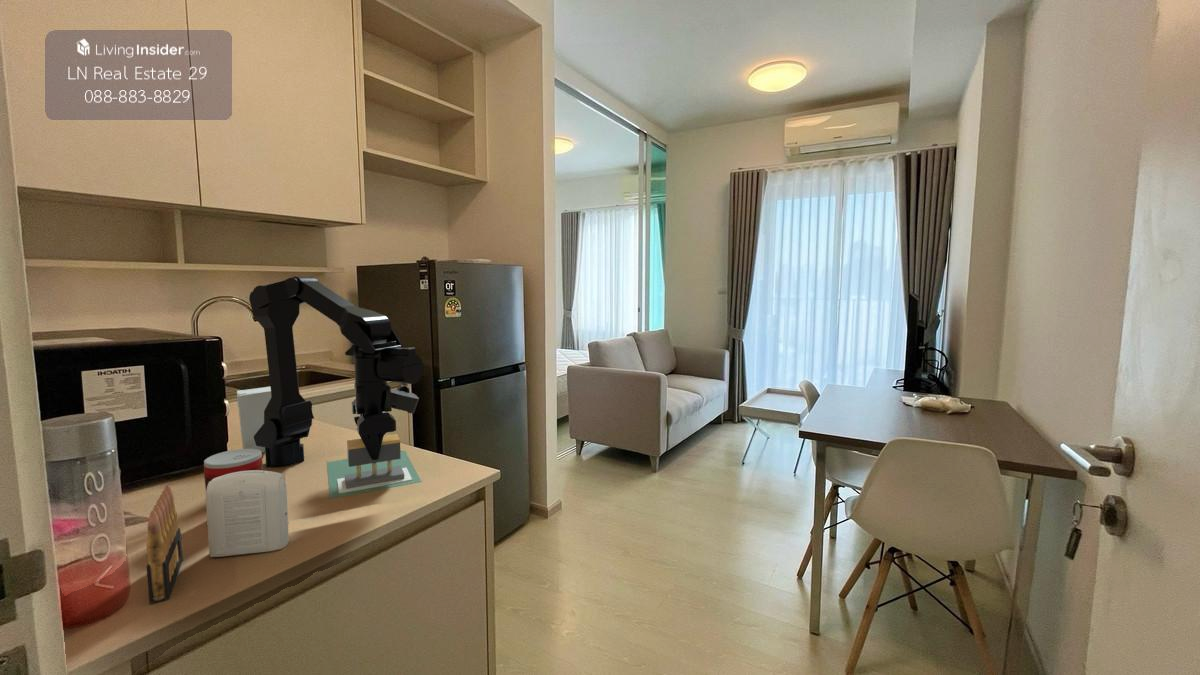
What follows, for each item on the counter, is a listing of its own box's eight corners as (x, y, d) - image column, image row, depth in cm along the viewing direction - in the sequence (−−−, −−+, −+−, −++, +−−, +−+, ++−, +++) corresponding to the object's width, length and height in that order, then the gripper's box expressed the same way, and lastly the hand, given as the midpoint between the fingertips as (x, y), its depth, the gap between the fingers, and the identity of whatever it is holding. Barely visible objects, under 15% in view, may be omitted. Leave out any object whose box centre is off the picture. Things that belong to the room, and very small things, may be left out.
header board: (330, 506, 88) (329, 476, 88) (327, 468, 105) (326, 443, 105) (421, 488, 97) (421, 461, 96) (405, 456, 114) (404, 433, 113)
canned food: (275, 510, 86) (272, 451, 85) (228, 532, 79) (224, 467, 78) (245, 503, 89) (241, 445, 88) (197, 523, 81) (192, 460, 80)
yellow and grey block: (349, 466, 92) (348, 446, 92) (347, 460, 95) (346, 440, 95) (400, 458, 97) (400, 439, 96) (397, 452, 100) (397, 433, 100)
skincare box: (281, 443, 121) (278, 384, 119) (285, 449, 116) (281, 389, 114) (240, 449, 115) (236, 389, 114) (241, 457, 111) (237, 394, 109)
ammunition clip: (166, 563, 70) (159, 484, 69) (183, 559, 71) (176, 481, 70) (149, 605, 61) (140, 515, 60) (168, 600, 62) (160, 512, 61)
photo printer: (293, 537, 78) (289, 463, 76) (284, 551, 74) (279, 474, 72) (217, 546, 75) (212, 469, 73) (204, 561, 71) (197, 481, 69)
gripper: (424, 384, 90) (425, 464, 92) (407, 368, 106) (408, 436, 108) (357, 390, 85) (360, 475, 86) (350, 372, 101) (353, 444, 102)
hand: (373, 456), depth 96 cm, fingers closed on yellow and grey block, 4 cm apart
